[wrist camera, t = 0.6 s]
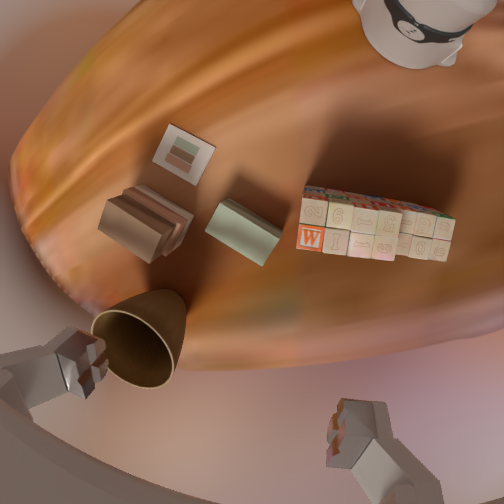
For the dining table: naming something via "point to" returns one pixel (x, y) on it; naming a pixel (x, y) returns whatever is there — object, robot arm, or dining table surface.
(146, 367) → the plant pot
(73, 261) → the dining table surface
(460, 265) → the dining table surface
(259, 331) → the dining table surface
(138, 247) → the brick walnut
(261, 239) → the brick sage
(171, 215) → the base brick
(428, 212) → the stack of blocks
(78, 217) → the dining table surface
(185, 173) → the page
